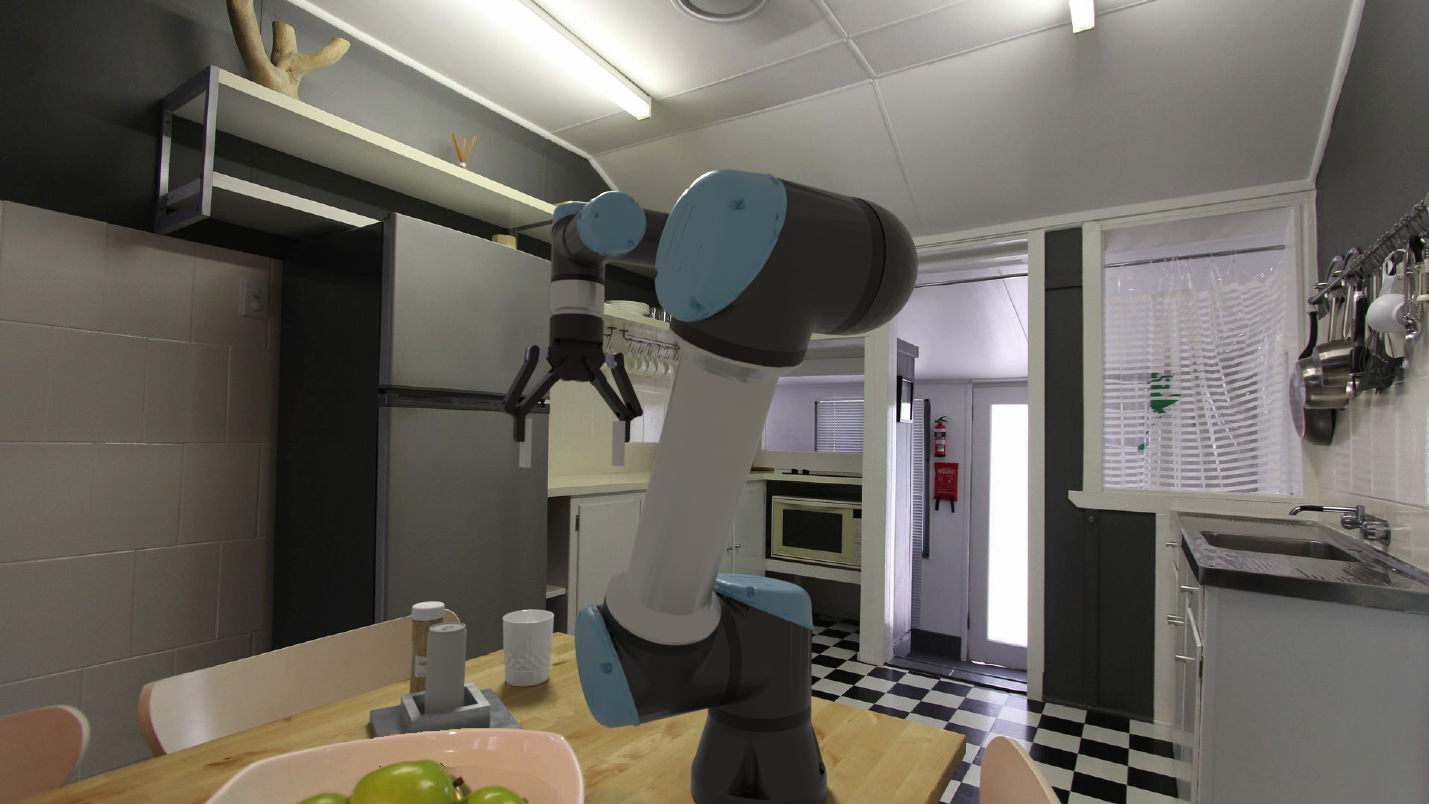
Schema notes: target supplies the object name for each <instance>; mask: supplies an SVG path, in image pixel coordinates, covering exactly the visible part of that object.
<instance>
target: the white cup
mask: <svg viewBox="0 0 1429 804" xmlns="http://www.w3.org/2000/svg"><path fill="white" fill-rule="evenodd" d="M554 618H555V614H554V613H553V612H552V611H550V610H549V611H548V610H543V609H523V610H516V611H512V612H509V613H506V614H504V615H503V617H502V635H503V637H502V639H503V640H502V641H503V645H502V646H503V663H504V681H505V683H506V684H507V685H509V686H514V687H533V686H537V685H540V684H543V683H545V682H546V681H548V679H549V677H550V664H551V663H550V662H551V658H552V647H553V636H554V635H553V633H554Z"/></svg>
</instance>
